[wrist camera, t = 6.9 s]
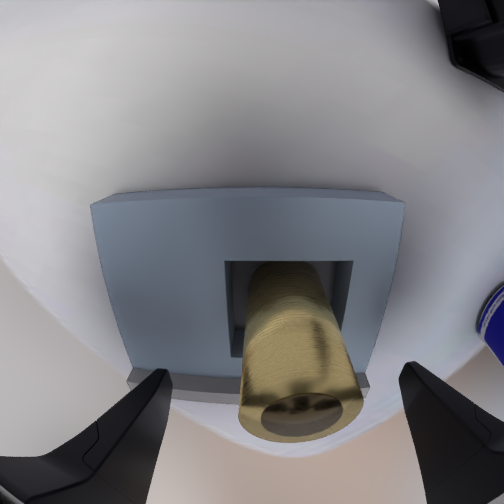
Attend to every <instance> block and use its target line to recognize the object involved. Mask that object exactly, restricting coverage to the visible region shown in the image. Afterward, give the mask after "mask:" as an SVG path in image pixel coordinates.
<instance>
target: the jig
mask: <svg viewBox="0 0 504 504" xmlns="http://www.w3.org/2000/svg"><path fill="white" fill-rule="evenodd" d="M90 208H91V215H92V221H93V227H94V233H95V238H96V243H97V248H98V253H99V258H100V262H101V267H102V271H103V275H104V279H105V283H106V287H107V291H108V295H109V298H110V302H111V305H112V309H113V312H114V315H115V319H116V322H117V325H118V328H119V331H120V334H121V337H122V340H123V343H124V345H125V348H126V351H127V354H128V356H129V359H130V362H131V364H132V367H133V369H132V371H131V373H130V375H129V377H128V379H127V384H128V386H129V388H130V390H132V389H134V388H135V387H136V386H137V385H138V384H139V383H140V382H142V381H143V380H144V379H145V378H146V377H147V376H149V375H150V374H151V373H152V372H153V371H154V370H155V369H157V368H163V369H167V370H168V371H169V373H170V377H171V380H172V383H173V390H172V396H171V399H178V400H187V401H196V402H207V403H221V404H239V400H240V387H241V373H242V360H243V347H244V334H245V320H246V307H247V294H248V284H249V281H250V278H251V276H252V274H253V273H254V272H255V270H256V269H257V268H258V267H259V266H261V265H262V264H263V263H265V262H267V261H306V262H307V263H309V264H310V265H311V266H312V267H313V268H314V269H315V270H316V272H317V273H318V275H319V278H320V280H321V283H322V285H323V288H324V290H325V293H326V295H327V298H328V300H329V303H330V305H331V308H332V310H333V313H334V316H335V318H336V321H337V324H338V326H339V329H340V332H341V334H342V337H343V340H344V343H345V345H346V348H347V351H348V354H349V356H350V359H351V362H352V365H353V368H354V371H355V374H356V377H357V380H358V383H359V386H360V389H361V392H362V395H363V398H366V396H367V393H368V391H369V389H370V385H369V382H368V380H367V377H366V374H365V371H366V369H367V366H368V363H369V360H370V357H371V354H372V351H373V348H374V345H375V342H376V339H377V336H378V332H379V329H380V326H381V322H382V319H383V315H384V311H385V308H386V304H387V300H388V296H389V292H390V288H391V283H392V279H393V274H394V270H395V265H396V260H397V255H398V249H399V244H400V238H401V231H402V225H403V217H404V210H405V202H403V201H401V200H398V199H396V198H394V197H392V196H390V195H388V194H386V193H383V192H374V191H360V190H343V189H322V188H288V187H231V188H197V189H176V190H159V191H145V192H132V193H121V194H114V195H111V196H109V197H107V198H104V199H102V200H100V201H97V202H95V203H93V204H91V205H90Z"/></svg>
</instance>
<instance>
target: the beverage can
mask: <svg viewBox="0 0 504 504" xmlns="http://www.w3.org/2000/svg"><path fill="white" fill-rule="evenodd" d="M478 335H479V337H480V338H481V339H482V341H483V342H484V343H485V344H486V345H487V347H488V348H489V349H490V350H491V352H492V353H493V354H494V355H495V357H496V358H497V359H498V361H499V362H500V363H501V365H502V366H503V367H504V286H502V287H501V288H500V289H499V290H498V291H497V292H496V293H495V294H494V295H493V296H492V298H491V299H490V300H489V302H488V303H487V305H486V307H485V309H484V311H483V313H482V315H481V318H480V321H479V327H478Z"/></svg>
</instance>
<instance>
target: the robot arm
mask: <svg viewBox="0 0 504 504" xmlns="http://www.w3.org/2000/svg"><path fill="white" fill-rule="evenodd" d="M438 3H439V7H440V10H441V14H442V18H443V22H444V26H445V31H446V35H447V40H448V45H449V51H450V57H451V61H452V63H453V64H454V65H455V66H456V67H457V68H459V69H462V70H464V71H466V72H468V73H470V74H472V75H474V76H476V77H478V78H480V79H482V80H484V81H486V82H488V83H489V84H491V85H493V86H495V87H497V88H498V89H500V90H502V91H503V92H504V0H438ZM457 58H458V59H459V61H458V59H457ZM399 385H400V390H401V395H402V400H403V405H404V410H405V414H406V418H407V421H408V424H409V428H410V431H411V435H412V438H413V442H414V446H415V450H416V454H417V458H418V462H419V466H420V470H421V475H422V479H423V484H424V489H425V493H426V494H425V495H426V500H427V504H504V422H503V421H501V420H499V419H497V418H496V417H494V416H492V415H491V414H489V413H488V412H486V411H485V410H483V409H482V408H480V407H479V406H478V405H476V404H474V403H473V402H471V401H470V400H469V399H468V398H466V397H465V396H463V395H462V394H461V393H459V392H458V391H456V390H455V389H454V388H452V387H451V386H449V385H448V384H447V383H445V382H444V381H442V380H441V379H440V378H438V377H437V376H435V375H434V374H433V373H431V372H430V371H428V370H427V369H426V368H424V367H423V366H421V365H420V364H419V363H417V362H415V361H412V362H407V363H406V364H405V365H404V367H403V369H402V371H401V374H400V376H399ZM172 390H173V383H172V380H171V377H170V373H169V371H168V370H167V369H163V368H157V369H155V370H154V371H153V372H152V373H151V374H150V375H149V376H147V377H146V378H145V379H144V380H143V381H142V382H140V383H139V384H138V385H137V386H136V387H135V388H134V389H132V390H131V391H130V392H129V393H128V394H127V395H125V397H123V398H122V399H121V400H120V401H118V402H117V403H116V404H115V405H114V406H113V407H111V408H110V409H109V410H108V411H107V412H105V413H104V414H103V415H102V416H101V417H100V418H98V419H97V421H95V422H94V423H92V424H91V425H90V426H89V427H87V428H86V429H85V430H83V431H82V432H81V433H79V434H78V435H76V436H75V437H74V438H72V439H71V440H69V441H67V442H66V443H64V444H63V445H61V446H59V447H58V448H56V449H54V450H53V451H52V452H49V453H47V454H45V455H42V456H37V457H6V456H0V504H146V500H147V496H148V492H149V488H150V484H151V480H152V476H153V472H154V469H155V465H156V461H157V458H158V454H159V450H160V447H161V443H162V440H163V436H164V433H165V429H166V425H167V421H168V415H169V409H170V402H171V396H172Z"/></svg>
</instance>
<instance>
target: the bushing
mask: <svg viewBox="0 0 504 504" xmlns="http://www.w3.org/2000/svg"><path fill="white" fill-rule="evenodd" d="M363 402H364V400H363V395H362V392H361V389H360V386H359V383H358V380H357V377H356V374H355V371H354V368H353V365H352V362H351V359H350V356H349V354H348V351H347V348H346V345H345V343H344V340H343V337H342V334H341V332H340V329H339V326H338V324H337V321H336V318H335V316H334V313H333V310H332V308H331V305H330V303H329V300H328V298H327V295H326V293H325V290H324V288H323V285H322V283H321V280H320V278H319V275H318V273H317V272H316V270H315V269H314V268H313V267H312V266H311V265H310V264H309V263H307V262H306V261H267V262H265V263H263V264H262V265H261V266H259V267H258V268H257V269H256V270H255V272H254V273H253V274H252V276H251V278H250V281H249V284H248V294H247V307H246V320H245V334H244V347H243V360H242V373H241V387H240V400H239V414H238V418H239V422H240V424H241V425H242V427H243V428H244V429H245V430H246V431H247V432H249V433H250V434H252V435H254V436H256V437H258V438H261V439H264V440H268V441H273V442H281V443H297V442H306V441H311V440H316V439H319V438H323V437H325V436H328V435H331V434H333V433H335V432H337V431H339V430H341V429H342V428H344V427H345V426H347V425H348V424H350V423H351V422H352V421H353V420H354V419H355V418H356V417H357V416H358V414H359V413H360V411H361V409H362V407H363Z"/></svg>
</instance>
